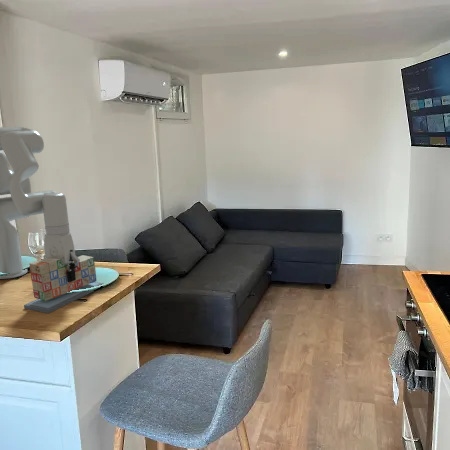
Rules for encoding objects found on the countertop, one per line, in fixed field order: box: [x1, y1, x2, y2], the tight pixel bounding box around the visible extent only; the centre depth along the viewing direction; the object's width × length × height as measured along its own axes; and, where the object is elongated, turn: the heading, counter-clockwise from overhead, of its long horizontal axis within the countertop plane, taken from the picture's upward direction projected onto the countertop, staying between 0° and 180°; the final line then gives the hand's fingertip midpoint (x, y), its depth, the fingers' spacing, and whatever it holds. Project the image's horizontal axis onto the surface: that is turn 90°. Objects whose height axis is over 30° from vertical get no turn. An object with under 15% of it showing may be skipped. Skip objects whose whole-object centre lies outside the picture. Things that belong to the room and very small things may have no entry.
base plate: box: [23, 281, 104, 314], centre depth 158 cm, size 11×26×1 cm, turn 153°
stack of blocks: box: [29, 254, 97, 301], centre depth 156 cm, size 21×6×12 cm, turn 145°
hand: (63, 279), depth 157 cm, fingers closed on stack of blocks, 6 cm apart
